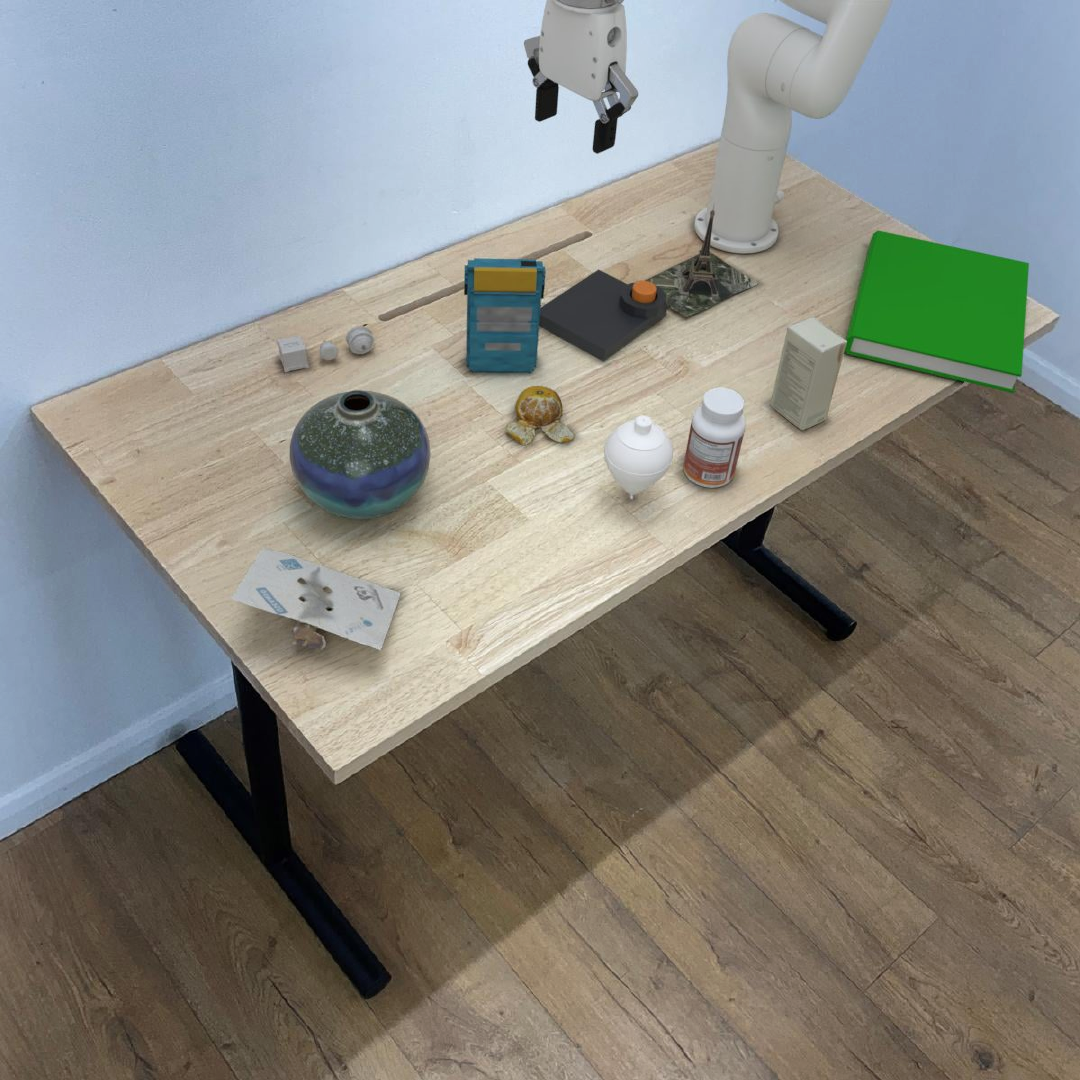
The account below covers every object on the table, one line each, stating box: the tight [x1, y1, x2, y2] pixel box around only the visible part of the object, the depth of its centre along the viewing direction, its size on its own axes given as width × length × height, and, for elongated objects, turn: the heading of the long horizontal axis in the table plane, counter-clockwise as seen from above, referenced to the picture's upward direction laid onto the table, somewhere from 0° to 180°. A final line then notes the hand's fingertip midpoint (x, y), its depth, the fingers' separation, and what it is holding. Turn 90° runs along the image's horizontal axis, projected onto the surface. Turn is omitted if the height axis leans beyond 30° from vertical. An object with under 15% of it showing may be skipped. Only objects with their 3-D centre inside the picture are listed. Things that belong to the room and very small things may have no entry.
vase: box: [289, 389, 432, 520], centre depth 128 cm, size 15×15×13 cm
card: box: [230, 546, 402, 652], centre depth 119 cm, size 11×15×5 cm
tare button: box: [632, 280, 657, 303], centre depth 157 cm, size 3×3×2 cm
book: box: [844, 230, 1030, 394], centre depth 163 cm, size 22×28×3 cm
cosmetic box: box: [769, 316, 847, 431], centre depth 143 cm, size 6×4×12 cm
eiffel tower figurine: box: [644, 206, 759, 318], centre depth 161 cm, size 15×10×13 cm
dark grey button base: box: [539, 269, 669, 362], centre depth 158 cm, size 15×12×4 cm
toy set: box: [276, 325, 375, 374], centre depth 149 cm, size 12×3×4 cm
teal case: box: [463, 257, 547, 374], centre depth 145 cm, size 10×4×15 cm, turn 93°
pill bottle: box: [682, 387, 747, 489], centre depth 135 cm, size 6×6×11 cm
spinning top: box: [603, 414, 674, 500], centre depth 131 cm, size 8×8×12 cm
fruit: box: [505, 385, 576, 446], centre depth 142 cm, size 8×8×4 cm
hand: (574, 133), depth 140 cm, fingers open, 9 cm apart
